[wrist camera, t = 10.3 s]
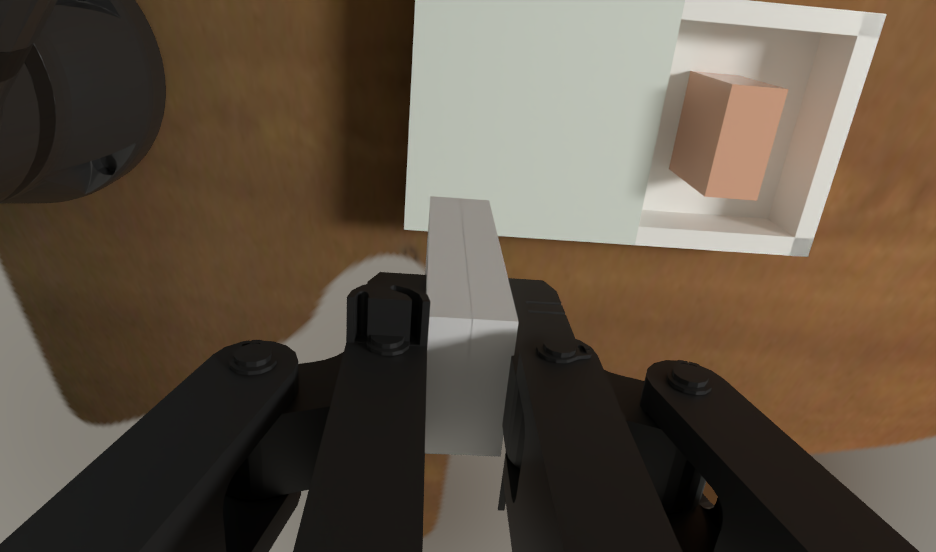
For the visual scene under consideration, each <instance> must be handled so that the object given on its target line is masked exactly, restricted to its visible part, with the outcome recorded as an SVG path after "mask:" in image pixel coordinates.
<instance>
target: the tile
mask: <svg viewBox="0 0 936 552" xmlns="http://www.w3.org/2000/svg"><path fill="white" fill-rule="evenodd" d="M787 93H788V89H786V88H782V87H779V86H775V85H772V84H768V83H765V82H761V81H757V80H754V79H750V78H747V77H743V76H740V75H731V74H720V73H709V72H698V71H690V75H689V80H688V84H687V89H686V93H685V98H684V102H683V107H682V111H681V116H680V120H679V125H678V129H677V134H676V138H675V143H674V148H673V152H672V157H671V161H670V166H669V170H671V171H672V172H673V173H675V174H676V175H677V176H679V177H680V178H681V179H682V180H684V181H685V182H686V183H688V184H689V185H690V186H691V187H693V188H694V189H695V190H697V191H698V192H699V193H700V194H702V195H703V196H704V197H715V198H728V199H741V200H754V201H757V199H758V195H759V192H760V188H761V185H762V181H763V178H764V174H765V171H766V167H767V164H768V160H769V157H770V153H771V149H772V146H773V142H774V139H775V135H776V132H777V128H778V125H779V121H780V118H781V114H782V111H783V107H784V104H785V100H786V96H787Z"/></svg>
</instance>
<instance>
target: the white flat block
mask: <svg viewBox="0 0 936 552" xmlns="http://www.w3.org/2000/svg"><path fill="white" fill-rule="evenodd" d="M684 3H685V0H415V16H414V36H413V56H412V76H411V96H410V117H409V137H408V157H407V177H406V197H405V217H404V230H418V231H428V225H429V209H430V196H435V197H449V198H463V199H477V200H489V202H490V206H491V210H492V215H493V219H494V223H495V227H496V231H497V235H498V236H507V237H522V238H537V239H552V240H567V241H581V242H596V243H611V244H626V245H635V242H636V237H637V232H638V227H639V222H640V218H641V213H642V208H643V203H644V198H645V193H646V188H647V183H648V179H649V174H650V169H651V164H652V159H653V154H654V149H655V145H656V140H657V135H658V130H659V125H660V120H661V115H662V110H663V106H664V101H665V96H666V91H667V86H668V81H669V76H670V72H671V67H672V62H673V57H674V52H675V47H676V42H677V37H678V33H679V28H680V23H681V18H682V13H683V8H684Z"/></svg>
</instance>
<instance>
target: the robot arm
mask: <svg viewBox="0 0 936 552" xmlns="http://www.w3.org/2000/svg"><path fill="white" fill-rule="evenodd" d="M165 98H166V86H165V74H164V67H163V63H162V58H161V54H160V51H159V47H158V44H157V42H156V39H155V36H154V34H153V32H152V29H151V27H150V25H149V23H148V21H147V19H146V17H145V15H144V14H143V12H142V10H141V9H140V7H139V5H138V4H137V3H136V1H135V0H0V203H55V202H63V201H68V200H73V199H77V198H80V197H84V196H87V195H89V194H92V193H94V192H96V191H99V190H100V189H102V188H104V187H106V186H108V185H109V184H111V183H113V182H114V181H116V180H118V179H120V178H121V177H123V176H124V175H126V174H127V173H128V172H130V171H131V170H132V169H133V168H134V167H135V166H136V165H137V164H138V163H139V162H140V161H141V160H142V159H143V158H144V156H145V155H146V154H147V152H148V151H149V149H150V148H151V146H152V144H153V143H154V141H155V139H156V136H157V134H158V132H159V129H160V126H161V122H162V119H163V114H164V108H165ZM346 341H347V342H346V346H345V350H344V352H343V353H341V354H339V355H337V356H335V357H332V358H329V359H326V360H322V361H316V362H310V363H303V364H298V359H297V356H296V353H295V352H294V351H293V350H292V349H290V348H289V347H288V346H286V345H283V344H280V343H276V342H272V341H262V340H252V341H243V342H240V343H237V344H233V345H230V346H227V347H224V348H223V349H221V350H220V351H218V352H216V353H215V354H213V355H212V356H211V357H210V358H209V359H208V360H206V361H205V362H204V363H203V364H202V365H201V366H200V367H199V368H197V369H196V370H195V371H194V372H193V373H192V374H191V375H190V376H188V377H187V378H186V379H185V380H184V381H183V382H182V383H181V384H179V385H178V386H177V387H176V388H175V389H174V390H173V391H172V392H170V393H169V394H168V395H167V396H166V397H165V398H164V399H163V400H161V401H160V402H159V403H158V404H157V405H156V406H155V407H154V408H152V409H151V410H150V411H149V412H148V413H147V414H146V415H145V416H143V417H142V418H141V419H140V420H139V421H138V422H137V423H136V424H135V425H133V426H132V427H131V428H130V429H129V430H128V431H127V432H125V433H124V434H123V435H122V436H121V437H120V438H119V439H118V440H117V441H115V442H114V443H113V444H112V445H111V446H110V447H109V448H108V449H106V450H105V451H104V452H103V453H102V454H101V455H100V456H99V457H97V458H96V459H95V460H94V461H93V462H92V463H91V464H90V465H88V466H87V467H86V468H85V469H84V470H83V471H82V472H81V473H79V474H78V475H77V476H76V477H75V478H74V479H73V480H72V481H70V482H69V483H68V484H67V485H66V486H65V487H64V488H63V489H61V490H60V491H59V492H58V493H57V494H56V495H55V496H54V497H52V498H51V499H50V500H49V501H48V502H47V503H46V504H45V505H44V506H42V507H41V508H40V509H39V510H38V511H37V512H36V513H34V514H33V515H32V516H31V517H30V518H29V519H28V520H27V521H25V522H24V523H23V524H22V525H21V526H20V527H19V528H18V529H16V530H15V531H14V532H13V533H12V534H11V535H10V536H9V537H7V538H6V539H5V540H4V541H3V542H2V543H1V544H0V552H269V550H270V549H271V547H272V546H273V544H274V542H275V541H276V539H277V537H278V536H279V534H280V532H281V531H282V529H283V528H284V526H285V524H286V523H287V521H288V520H289V518H290V516H291V515H292V513H293V511H294V510H295V508H296V506H297V505H298V502H299V499H300V496H301V491H304V490H309V491H308V495H307V500H306V503H305V507H304V511H303V515H302V519H301V523H300V527H299V531H298V535H297V538H296V543H295V546H294V551H293V552H422V544H423V504H424V463H425V453H429V454H453V455H477V456H500V455H501V448H502V441H503V435H504V441H505V448H506V454H505V461H504V468H503V476H502V483H501V490H500V497H499V505H498V510H504V509H505V504H506V506H507V514H508V522H509V530H510V537H511V546H512V552H919V551H918V550H917V549H916V548H915V547H914V546H912V545H911V544H910V543H909V542H908V541H907V540H906V539H904V538H903V537H902V536H901V535H900V534H899V533H898V532H897V531H895V530H894V529H893V528H892V527H891V526H890V525H889V524H887V523H886V522H885V521H884V520H883V519H882V518H881V517H880V516H878V515H877V514H876V513H875V512H874V511H873V510H872V509H870V508H869V507H868V506H867V505H866V504H865V503H864V502H862V501H861V500H860V499H859V498H858V497H857V496H856V495H854V493H852V492H851V491H850V490H849V489H848V488H847V487H846V486H844V485H843V484H842V483H841V482H840V481H839V480H838V479H836V478H835V477H834V476H833V475H832V474H831V473H830V472H829V471H827V470H826V469H825V468H824V467H823V466H822V465H821V464H820V463H818V462H817V461H816V460H815V459H814V458H813V457H812V456H810V455H809V454H808V453H807V452H806V451H805V450H804V449H803V448H801V447H800V446H799V445H798V444H797V443H796V442H795V441H793V440H792V439H791V438H790V437H789V436H788V435H787V434H786V433H784V432H783V431H782V430H781V429H780V428H779V427H778V426H776V425H775V424H774V423H773V422H772V421H771V420H770V419H769V418H767V417H766V416H765V415H764V414H763V413H762V412H761V411H759V410H758V409H757V408H756V407H755V406H754V405H753V404H752V403H750V402H749V401H748V400H747V399H746V398H745V397H744V396H743V395H741V394H740V393H739V392H738V391H737V390H736V389H735V388H733V387H732V386H731V385H730V384H729V383H728V382H727V381H726V380H724V379H723V378H722V377H720V376H719V375H717V374H716V373H714V372H713V371H711V370H709V369H706V368H704V367H702V366H700V365H699V364H696V363H692V362H689V363H688V362H687V361H682V360H678V361H671V360H665V361H661V362H657V363H654V364H653V365H651V366H650V367H649V368H648V369H647V373H646V377H645V381H642V380H638V379H633V378H629V377H625V376H621V375H617V374H614V373H611V372H608V371H606V370H604V369H603V367H602V365H601V362H600V360H599V358H598V355H597V354H596V353H595V352H594V350H593V349H592V348H591V347H590V346H588V345H587V344H585V343H583V342H582V341H580V340H577V339H575V337H574V334H573V332H572V329H571V327H570V324H569V322H568V319H567V317H566V315H565V312H564V309H563V307H562V305H561V301H560V299H559V296H558V294H557V291H555V290H554V289H553V288H552V287H550V286H549V285H548V284H547V283H546V282H544V281H542V280H526V279H510V278H508V276H507V272H506V268H505V264H504V260H503V256H502V252H501V247H500V243H499V239H498V235H497V231H496V227H495V223H494V219H493V215H492V210H491V206H490V202H489V200H477V199H463V198H449V197H435V196H430V209H429V225H428V240H427V255H426V270H425V275H418V274H402V273H385V272H380V273H378V274H377V275H376V276H374V277H373V278H372V279H371V280H369V281H368V283H367V284H366V285H362V286H360V287H358V288H356V289H354V290H352V291H351V292H350V294H349V295H348V297H347V337H346ZM706 481H707V483H708V484H709V485H710V486H711V487H712V488H713V490H714V491H715V493H716V495H717V496H718V498H717V502H716V504H715V505H713V504H712V503H710V502H709V500H708V499H707V498H706V497H705V496H704V494H703V490H704V486H705V483H706Z"/></svg>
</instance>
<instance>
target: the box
mask: <svg viewBox="0 0 936 552" xmlns="http://www.w3.org/2000/svg"><path fill="white" fill-rule="evenodd" d="M885 17H886V14H881V13H871V12H860V11H850V10H840V9H830V8H819V7H809V6H799V5H789V4H778V3H768V2H758V1H748V0H685V3H684V8H683V13H682V18H681V23H680V28H679V33H678V37H677V42H676V47H675V52H674V57H673V62H672V67H671V72H670V76H669V81H668V86H667V91H666V96H665V101H664V106H663V110H662V115H661V120H660V125H659V130H658V135H657V140H656V145H655V149H654V154H653V159H652V164H651V169H650V174H649V179H648V183H647V188H646V193H645V198H644V203H643V208H642V213H641V218H640V222H639V227H638V232H637V237H636V242H635V245H641V246H656V247H671V248H686V249H700V250H715V251H730V252H745V253H760V254H775V255H790V256H804V257H808V255H809V252H810V249H811V245H812V242H813V239H814V236H815V233H816V230H817V227H818V224H819V221H820V218H821V215H822V212H823V208H824V205H825V202H826V199H827V196H828V193H829V190H830V187H831V184H832V181H833V178H834V175H835V172H836V168H837V165H838V162H839V159H840V156H841V153H842V150H843V147H844V144H845V141H846V138H847V135H848V131H849V128H850V125H851V122H852V119H853V116H854V113H855V110H856V107H857V104H858V101H859V98H860V94H861V91H862V88H863V85H864V82H865V79H866V76H867V73H868V70H869V67H870V64H871V61H872V57H873V54H874V51H875V48H876V45H877V42H878V39H879V36H880V33H881V30H882V27H883V24H884V20H885ZM690 71H698V72H709V73H720V74H731V75H740V76H743V77H747V78H750V79H754V80H757V81H761V82H765V83H768V84H772V85H775V86H779V87H782V88H786V89H788V93H787V96H786V100H785V104H784V107H783V111H782V114H781V118H780V121H779V125H778V128H777V132H776V135H775V139H774V142H773V146H772V149H771V153H770V157H769V160H768V164H767V167H766V171H765V174H764V178H763V181H762V185H761V188H760V192H759V195H758V199H757V201H754V200H741V199H728V198H715V197H704V196H703V195H702V194H700V193H699V192H698V191H697V190H695V189H694V188H693V187H691V186H690V185H689V184H688V183H686V182H685V181H684V180H682V179H681V178H680V177H679V176H677V175H676V174H675V173H673V172H672V171H671V170H669V166H670V161H671V157H672V152H673V148H674V143H675V138H676V134H677V129H678V125H679V120H680V116H681V111H682V107H683V102H684V98H685V93H686V89H687V84H688V80H689V75H690Z"/></svg>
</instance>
